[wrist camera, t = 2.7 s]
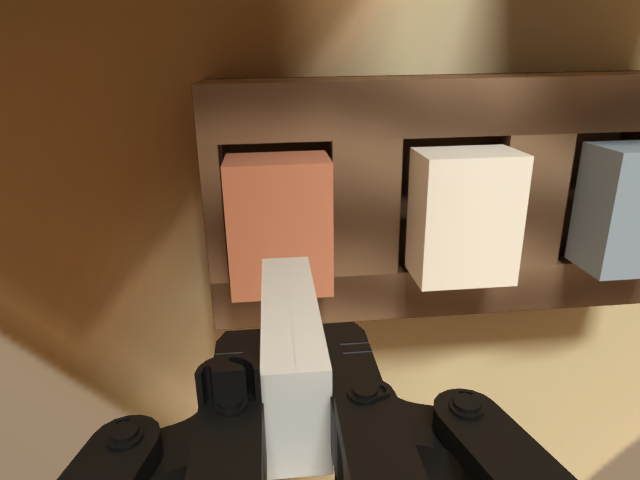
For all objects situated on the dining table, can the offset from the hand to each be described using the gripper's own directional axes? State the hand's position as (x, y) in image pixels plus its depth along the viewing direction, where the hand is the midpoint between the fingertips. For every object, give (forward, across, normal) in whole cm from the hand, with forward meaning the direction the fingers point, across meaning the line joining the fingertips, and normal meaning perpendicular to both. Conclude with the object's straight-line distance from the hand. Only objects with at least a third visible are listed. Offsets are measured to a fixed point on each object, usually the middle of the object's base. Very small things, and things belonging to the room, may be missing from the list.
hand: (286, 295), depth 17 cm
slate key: (+8, +17, 0) cm, 19 cm away
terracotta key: (+8, 0, 0) cm, 8 cm away
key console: (+13, +8, 0) cm, 15 cm away
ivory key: (+8, +8, 0) cm, 12 cm away
